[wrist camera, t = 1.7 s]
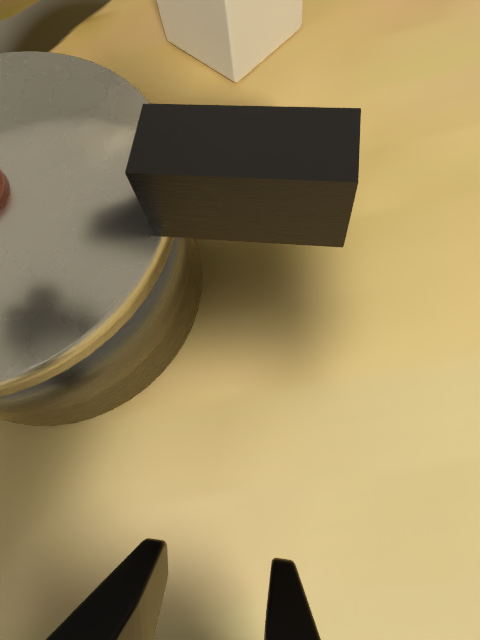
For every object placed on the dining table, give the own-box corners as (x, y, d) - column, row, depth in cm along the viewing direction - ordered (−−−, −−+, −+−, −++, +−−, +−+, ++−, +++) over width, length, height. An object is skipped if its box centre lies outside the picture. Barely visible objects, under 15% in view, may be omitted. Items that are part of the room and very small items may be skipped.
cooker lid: (-261, 381, 18) (-448, 338, 14) (-100, 76, 24) (-193, -27, 20) (329, 448, 15) (349, 424, 11) (348, 82, 21) (365, -37, 17)
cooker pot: (-109, 486, 24) (-257, 479, 17) (-114, 236, 30) (-225, 161, 23) (361, 326, 25) (389, 263, 18) (263, 115, 31) (258, 11, 24)
